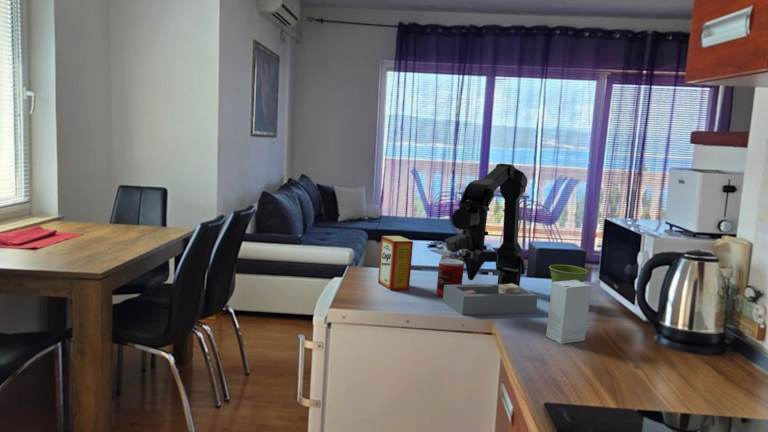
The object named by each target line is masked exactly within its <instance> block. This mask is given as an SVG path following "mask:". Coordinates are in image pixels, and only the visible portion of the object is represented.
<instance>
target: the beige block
mask: <svg viewBox="0 0 768 432" xmlns="http://www.w3.org/2000/svg"><path fill="white" fill-rule="evenodd" d="M519 287H520V286H519ZM519 287H518V286H516V285H514V284H505V285H499V292H500V293H502V294H508V295H517V294H519Z"/></svg>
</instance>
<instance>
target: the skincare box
mask: <svg viewBox="0 0 768 432" xmlns="http://www.w3.org/2000/svg"><path fill="white" fill-rule="evenodd" d="M592 287H593V286H592V285H590V284H587V283H585V282H584V281H583V282H580V281H578V280H570V281H559V282H552V281H551V289H550V290H551V291H550V298H549V299H550V300H549V306H548V307H549V308H548V317H547V326H546V335H545V336H546V337H547V338H549V339H550V340H553V341H554V340H555V341H554V342H556V341H557V342H556V343H558V344H561V345H562V344H563V345H565V344H570V343H578V342H585V341H586V335H587V334H586V332H587V325H588V324H587V323H588V316H589V308H590V302H591V300H590V299H591V292H592Z"/></svg>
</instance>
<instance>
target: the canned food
mask: <svg viewBox="0 0 768 432" xmlns="http://www.w3.org/2000/svg"><path fill="white" fill-rule="evenodd" d="M438 262H439V263H438V273H437V283H436V295H437V296H438V297H439V298H442V299H443V292H444V285H463V278H464V269H465V268H464V267H465V261H463V260H460V259H457V258H441V259H439V261H438Z"/></svg>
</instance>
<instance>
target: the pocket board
mask: <svg viewBox="0 0 768 432" xmlns="http://www.w3.org/2000/svg"><path fill="white" fill-rule="evenodd" d="M499 285H505V284H497V283H496V284H493V283H492V284H489V283H488V284H487V283H485V284H477V283H476V284H474V283H473V284H462V285H444V292H443V298H442V303H444V304H445V305H447V306H448V307H450V308H451V309H453V310H454V311H455V312H457V313H458V314H460V315H499V314H503V315H504V314H505V315H506V314H534V313H537V305H538V297H539V295H538V294H535V293H533V292H532V291H529V290H528V289H525V288H523V287H521V286H518V287H519V291H520V292H521V294H517V295H508V294H497V292H499ZM514 285H515V284H514ZM516 286H517V285H516ZM468 290H473V291H475V292H476V294H467V293H465V292H463V291H468Z"/></svg>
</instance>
